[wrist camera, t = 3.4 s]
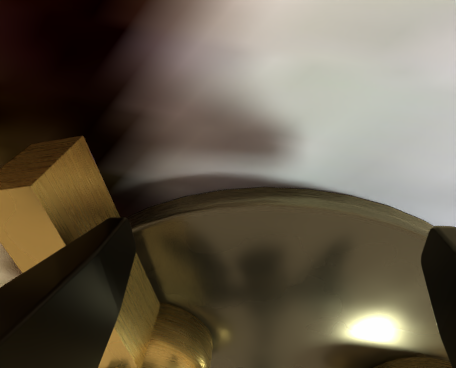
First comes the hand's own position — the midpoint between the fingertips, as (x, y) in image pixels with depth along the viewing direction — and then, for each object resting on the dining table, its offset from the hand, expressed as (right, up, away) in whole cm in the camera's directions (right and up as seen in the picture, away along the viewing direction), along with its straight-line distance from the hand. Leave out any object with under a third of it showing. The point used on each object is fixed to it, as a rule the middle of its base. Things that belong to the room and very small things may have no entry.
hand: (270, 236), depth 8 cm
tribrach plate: (+1, -7, +8) cm, 10 cm away
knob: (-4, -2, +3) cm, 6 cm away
